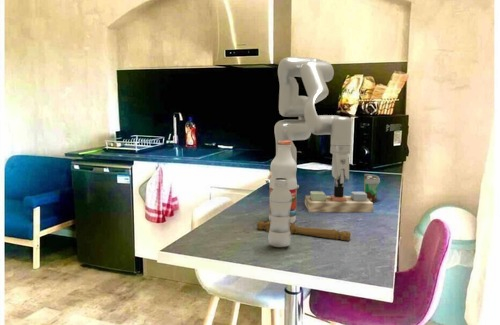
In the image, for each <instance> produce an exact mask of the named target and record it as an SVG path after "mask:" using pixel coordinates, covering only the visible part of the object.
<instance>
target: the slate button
mask: <svg viewBox="0 0 500 325" xmlns="http://www.w3.org/2000/svg"><path fill="white" fill-rule="evenodd" d="M350 196H351V200H352V201H367V194H366V193H365V192H364V191H350Z"/></svg>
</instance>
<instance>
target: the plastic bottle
mask: <svg viewBox="0 0 500 325" xmlns="http://www.w3.org/2000/svg"><path fill="white" fill-rule="evenodd" d="M274 180H275V183H274V185H275V188H274V189H273V190H272V192H271V193H270V196H269V198H268V199H270V208H271V222H270V230H269V232H268V235H267V236H268V237H267V238H268V244H269V245H270V246H271V247H275V248H285V247H288V246H289V245H290V244H291V241H292V234H291V233H290V221H289V219H290V209H291V203H292V194H291V192H290V191H289V189H288V188H287V186H288V180H287V178H275V179H274Z"/></svg>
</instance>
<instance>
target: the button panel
mask: <svg viewBox="0 0 500 325" xmlns="http://www.w3.org/2000/svg"><path fill="white" fill-rule="evenodd" d="M344 196H345V197H346V201H332V200H331V199H330V197H331V195H325V201H311V200H310V195H304V206H306V209H307V211H308V212H309V213H370V214H371V213H374V202H371V201H370V200H369V199H368V198H367V201H352V200H351V195H344Z"/></svg>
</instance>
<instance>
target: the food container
mask: <svg viewBox="0 0 500 325" xmlns="http://www.w3.org/2000/svg"><path fill="white" fill-rule="evenodd" d="M363 180H364V181H363V192H365V193H366V194H367V198H368V199H369V200H370V201H371V202H372V203H375V202H377V197H378V191H379V184H380V183H381V179H380V176H378V175H376V174H369V173H364V178H363Z"/></svg>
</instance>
